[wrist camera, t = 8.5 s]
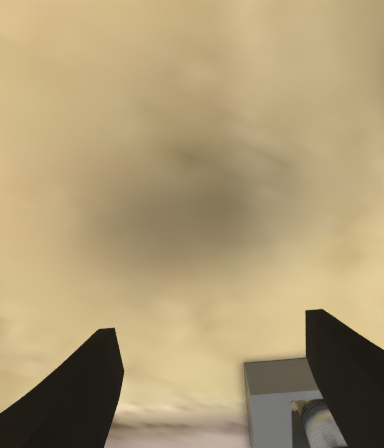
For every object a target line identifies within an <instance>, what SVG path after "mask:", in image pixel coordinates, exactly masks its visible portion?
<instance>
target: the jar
mask: <svg viewBox="0 0 384 448" xmlns="http://www.w3.org/2000/svg"><path fill="white" fill-rule="evenodd" d="M294 402H295V404H296V407H297V410H298V413H299V416H300V419H301V421H302V424H303V427H304V430H305V433H306V435H307V438H308V441H309V444H310V447H311V448H348V446H347V444H346V442H345V440H344V438H343V436H342V434H341V432H340V430H339V428H338V426H337V424H336V422H335V420H334V418H333V417H332V415H331V413H330V411H329V409H328V407H327V405H326V403H325V401H324V399H310V400H297V401H294Z"/></svg>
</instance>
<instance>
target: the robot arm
mask: <svg viewBox="0 0 384 448" xmlns="http://www.w3.org/2000/svg"><path fill="white" fill-rule="evenodd" d="M306 358H307V361H308V364H309V367H310V369H311V372H312V375H313V377H314V380H315V383H316V385H317V387H318V389H319V391H320V393H321V395H322V397H323V399H324V401H325V403H326V405H327V407H328V409H329V411H330V413H331V415H332V417H333V418H334V420H335V422H336V424H337V426H338V428H339V430H340V432H341V434H342V436H343V438H344V440H345V442H346V444H347V446H348V448H384V350H383V349H381V348H380V347H378V346H376V345H375V344H373V343H372V342H370V341H369V340H367V339H366V338H364V337H363V336H361V335H360V334H358V333H357V332H355V331H354V330H352V329H351V328H349V327H348V326H346V325H345V324H343V323H342V322H341V321H339V320H338V319H336V318H335V317H333V316H332V315H331V314H329V313H328V312H326V311H325V310H323V309H317V310H306ZM123 376H124V368H123V364H122V359H121V355H120V350H119V345H118V341H117V336H116V332H115V328H106V329H99V330H97V331H96V332H95V333H94V334H93V335H92V336H91V337H90V338H89V339H88V340H86V341H85V342H84V343H83V344H82V345H81V346H80V347H79V348H78V349H77V350H76V351H75V352H74V353H73V354H72V355H71V356H70V357H69V358H67V359H66V360H65V361H64V362H63V363H62V364H61V365H60V366H59V367H58V368H57V369H55V370H54V371H53V372H52V373H51V374H50V375H49V376H47V377H46V378H45V379H44V380H43V381H42V382H40V383H39V384H38V385H37V386H36V387H35V388H33V389H32V390H31V391H30V392H28V393H27V394H26V395H25V396H23V397H22V398H21V399H19V400H18V401H17V402H15V403H14V404H13V405H11V406H10V407H9V408H7V409H6V410H4V411H3V412H2V413H0V448H104V445H105V442H106V439H107V436H108V433H109V430H110V427H111V423H112V420H113V417H114V414H115V411H116V407H117V404H118V401H119V397H120V392H121V387H122V381H123Z"/></svg>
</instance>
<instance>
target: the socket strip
mask: <svg viewBox="0 0 384 448" xmlns="http://www.w3.org/2000/svg"><path fill="white" fill-rule="evenodd" d="M244 371H245V383H246V395H247V408H248V420H249V432H250V445H251V448H311V447H310V444H309V441H308V438H307V435H306V433H305V430H304V427H303V424H302V421H301V419H300V416H299V413H298V412H291V401H297V400H310V399H323V397H322V395H321V393H320V391H319V389H318V387H317V385H316V383H315V380H314V377H313V375H312V372H311V369H310V367H309V364H308V361H307V358H303V359H291V360H279V361H266V362H254V363H244Z"/></svg>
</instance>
